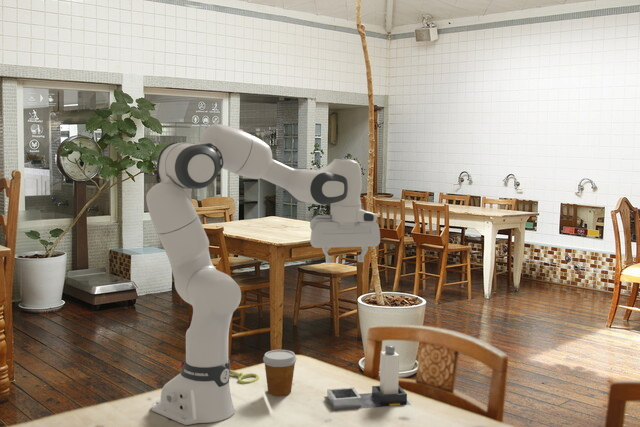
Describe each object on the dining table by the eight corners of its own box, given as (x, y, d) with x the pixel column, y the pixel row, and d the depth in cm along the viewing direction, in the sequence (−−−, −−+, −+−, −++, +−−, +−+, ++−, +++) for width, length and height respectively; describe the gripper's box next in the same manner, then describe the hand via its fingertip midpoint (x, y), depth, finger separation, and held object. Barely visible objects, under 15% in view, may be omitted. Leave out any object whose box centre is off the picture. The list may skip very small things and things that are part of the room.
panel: (332, 414, 184) (332, 401, 184) (323, 400, 194) (323, 388, 193) (410, 407, 189) (410, 395, 189) (398, 394, 199) (398, 382, 198)
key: (224, 373, 215) (224, 366, 215) (261, 378, 211) (261, 371, 211) (214, 381, 208) (214, 374, 208) (251, 386, 205) (251, 379, 204)
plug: (384, 401, 190) (385, 349, 189) (379, 396, 194) (380, 344, 192) (398, 400, 191) (399, 348, 189) (393, 395, 195) (394, 343, 193)
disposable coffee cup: (264, 388, 202) (264, 348, 200) (297, 389, 201) (297, 349, 200) (260, 401, 192) (260, 359, 191) (294, 402, 192) (295, 360, 190)
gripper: (312, 216, 194) (312, 265, 195) (382, 215, 198) (381, 263, 200) (308, 214, 200) (307, 261, 201) (375, 213, 204) (374, 259, 206)
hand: (344, 262), depth 201 cm, fingers open, 8 cm apart
